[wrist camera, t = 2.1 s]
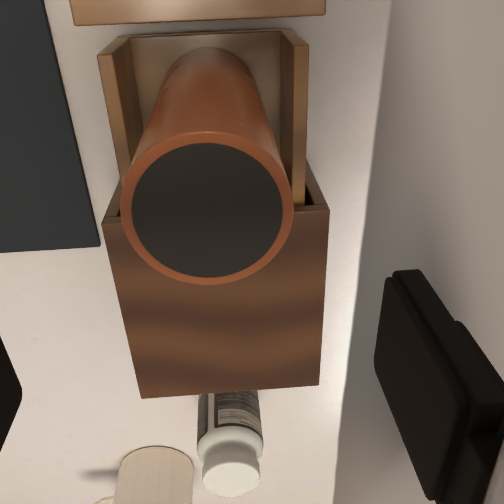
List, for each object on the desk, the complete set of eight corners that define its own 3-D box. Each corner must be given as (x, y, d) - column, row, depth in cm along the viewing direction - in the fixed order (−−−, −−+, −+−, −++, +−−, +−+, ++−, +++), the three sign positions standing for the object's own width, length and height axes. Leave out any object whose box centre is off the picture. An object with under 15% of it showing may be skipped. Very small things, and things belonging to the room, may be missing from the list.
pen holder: (204, 23, 28) (196, 90, 14) (277, 94, 30) (329, 209, 17) (142, 101, 30) (83, 223, 16) (215, 161, 32) (216, 311, 19)
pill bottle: (226, 414, 49) (229, 509, 41) (186, 387, 46) (180, 482, 38) (268, 386, 47) (280, 479, 39) (229, 356, 45) (232, 450, 36)
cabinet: (124, 166, 34) (100, 223, 27) (305, 156, 35) (330, 209, 27) (153, 322, 42) (140, 399, 35) (300, 311, 42) (319, 385, 35)
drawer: (81, -105, 25) (42, -123, 19) (305, -112, 26) (332, -131, 20) (136, 200, 35) (121, 249, 29) (298, 190, 35) (315, 236, 29)
